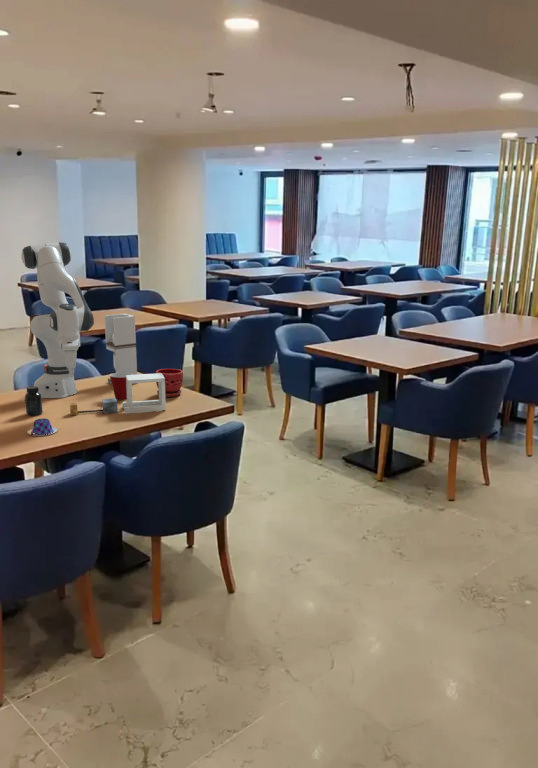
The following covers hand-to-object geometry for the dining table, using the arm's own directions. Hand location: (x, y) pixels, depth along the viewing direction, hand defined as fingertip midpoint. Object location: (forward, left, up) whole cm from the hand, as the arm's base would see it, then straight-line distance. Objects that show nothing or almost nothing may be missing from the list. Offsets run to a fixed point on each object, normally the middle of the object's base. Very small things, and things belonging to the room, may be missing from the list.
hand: (71, 374), depth 298 cm
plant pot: (+46, +22, -18) cm, 54 cm away
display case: (+26, +51, -18) cm, 60 cm away
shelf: (+31, 0, -18) cm, 35 cm away
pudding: (-13, -22, -19) cm, 32 cm away
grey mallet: (+9, 0, -18) cm, 20 cm away
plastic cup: (+23, +21, -18) cm, 36 cm away
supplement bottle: (-16, +5, -18) cm, 25 cm away
